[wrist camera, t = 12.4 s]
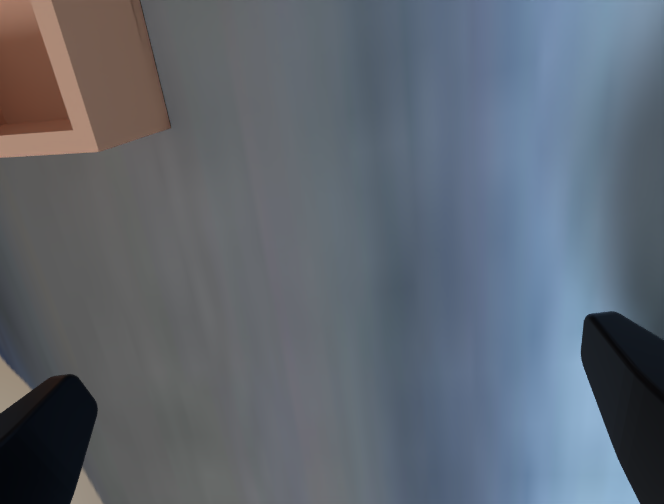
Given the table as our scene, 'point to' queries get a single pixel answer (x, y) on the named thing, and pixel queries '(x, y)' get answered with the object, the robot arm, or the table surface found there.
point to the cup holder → (76, 77)
